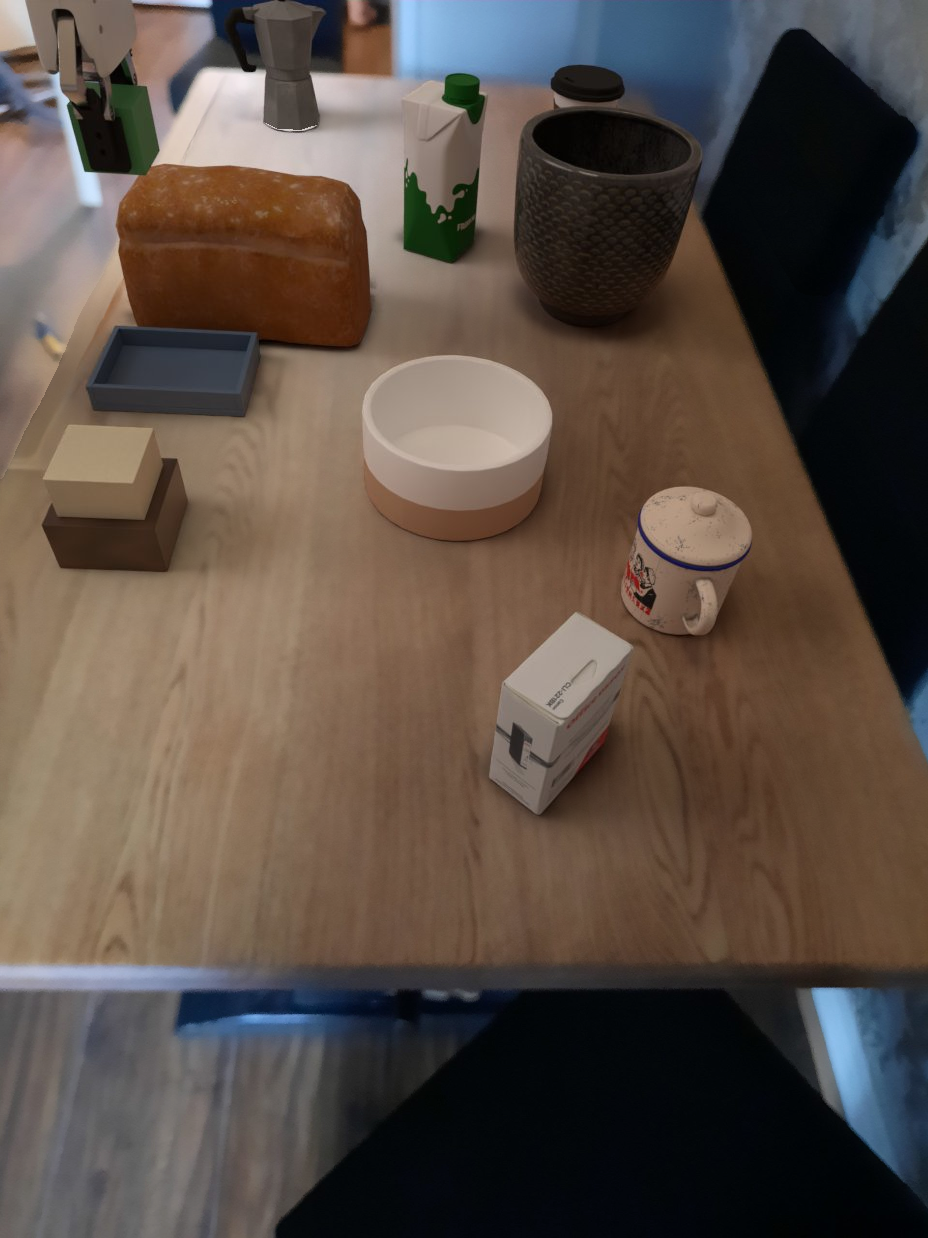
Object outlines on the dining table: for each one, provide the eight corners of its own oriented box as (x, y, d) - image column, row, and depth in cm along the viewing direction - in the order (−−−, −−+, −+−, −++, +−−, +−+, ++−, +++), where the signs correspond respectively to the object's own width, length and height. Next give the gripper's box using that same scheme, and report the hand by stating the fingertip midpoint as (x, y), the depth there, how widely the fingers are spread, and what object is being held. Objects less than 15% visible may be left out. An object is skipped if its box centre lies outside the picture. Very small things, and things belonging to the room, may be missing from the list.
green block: (84, 172, 70) (66, 104, 66) (100, 147, 73) (84, 81, 69) (146, 175, 70) (131, 108, 66) (160, 150, 73) (147, 85, 69)
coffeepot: (322, 106, 141) (314, -27, 128) (341, 128, 136) (334, -8, 122) (230, 115, 137) (211, -22, 123) (245, 138, 131) (227, -2, 118)
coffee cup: (569, 183, 128) (582, 94, 119) (527, 155, 134) (536, 68, 124) (625, 170, 132) (642, 83, 123) (581, 143, 138) (594, 58, 129)
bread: (162, 274, 104) (131, 136, 92) (376, 292, 104) (373, 157, 92) (127, 336, 95) (88, 192, 83) (361, 355, 96) (355, 215, 84)
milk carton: (455, 268, 109) (464, 95, 94) (392, 250, 112) (392, 77, 96) (483, 240, 115) (496, 72, 100) (423, 223, 117) (427, 56, 102)
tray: (92, 409, 87) (85, 386, 84) (120, 348, 94) (114, 324, 92) (244, 416, 87) (240, 393, 85) (260, 354, 95) (257, 332, 92)
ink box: (553, 705, 67) (578, 605, 57) (605, 742, 65) (639, 645, 56) (484, 777, 62) (499, 681, 53) (538, 818, 60) (563, 726, 51)
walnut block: (59, 567, 73) (41, 525, 69) (88, 496, 78) (73, 453, 75) (167, 571, 73) (154, 529, 69) (188, 500, 79) (177, 458, 75)
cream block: (57, 517, 69) (41, 479, 66) (81, 461, 74) (68, 423, 71) (144, 520, 70) (133, 483, 67) (163, 465, 74) (153, 427, 71)
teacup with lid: (608, 561, 77) (635, 460, 68) (705, 560, 78) (745, 459, 69) (635, 668, 69) (671, 570, 60) (743, 665, 70) (794, 568, 61)
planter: (670, 280, 111) (711, 120, 96) (651, 362, 98) (696, 192, 84) (522, 253, 113) (540, 93, 99) (486, 329, 101) (501, 158, 86)
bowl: (339, 445, 85) (335, 373, 79) (494, 410, 90) (502, 340, 84) (403, 562, 75) (404, 490, 69) (572, 515, 81) (588, 444, 74)
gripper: (37, -158, 63) (103, 113, 77) (-53, -108, 52) (43, 198, 66) (141, -150, 63) (188, 119, 77) (73, -99, 52) (142, 204, 66)
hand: (120, 153), depth 71 cm, fingers closed on green block, 5 cm apart
